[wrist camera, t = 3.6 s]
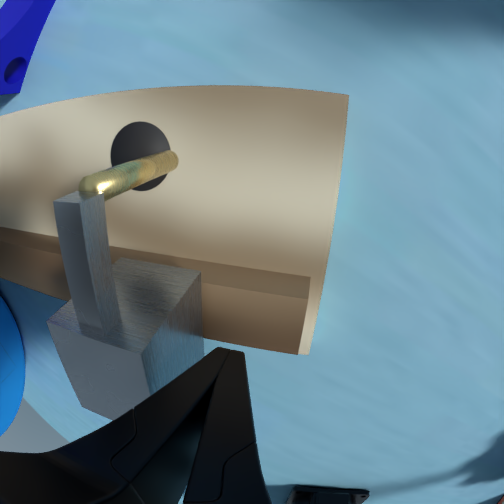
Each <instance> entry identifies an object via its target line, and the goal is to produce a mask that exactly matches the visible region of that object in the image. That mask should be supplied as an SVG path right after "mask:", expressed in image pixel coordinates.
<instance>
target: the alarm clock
mask: <svg viewBox="0 0 504 504" xmlns="http://www.w3.org/2000/svg"><path fill="white" fill-rule="evenodd" d="M24 385H25V357H24V350H23V344H22V340H21V336H20V333H19V330H18V327H17V325H16V322H15V320H14V318H13V315H12V313H11V312H10V310H9V308H8V306H7V305H6V303H5V301H4V300H3V299H2V297H1V296H0V436H1V435H2V434H3V433H4V432H5V431H6V430H7V429H8V427H9V426H10V424H11V423H12V421H13V420H14V418H15V416H16V414H17V412H18V409H19V406H20V403H21V400H22V396H23V391H24Z"/></svg>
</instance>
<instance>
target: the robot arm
mask: <svg viewBox="0 0 504 504" xmlns="http://www.w3.org/2000/svg"><path fill="white" fill-rule="evenodd" d="M187 483H188V484H187ZM186 485H187V488H186ZM185 488H186V492H185V496H184V500H183V504H272V503H271V500H270V497H269V494H268V491H267V488H266V485H265V481H264V478H263V474H262V471H261V465H260V460H259V455H258V448H257V444H256V435H255V428H254V421H253V414H252V407H251V399H250V392H249V384H248V377H247V369H246V362H245V354H244V352H241V351H236V350H230V349H226V348H222V347H217V348H215V349H214V350H213V351H211V352H210V353H209V354H207V355H206V356H205V357H203V358H202V359H201V360H199V361H198V362H197V363H195V364H194V365H192V366H191V367H190V368H188V369H187V370H186V371H184V372H183V373H182V374H180V375H179V376H177V377H176V378H175V379H173V380H172V381H170V382H169V383H168V384H166V385H165V386H163V387H162V388H161V389H159V390H158V391H156V392H155V393H154V394H152V395H151V396H149V397H148V398H146V399H145V400H144V401H142V402H141V403H139V404H138V405H136V406H135V407H134V409H130V410H129V411H127V412H126V413H124V414H123V415H121V416H120V417H118V418H117V419H115V420H113V421H112V422H110V423H109V424H107V425H105V426H103V427H101V428H99V429H98V430H96V431H94V432H92V433H90V434H88V435H86V436H84V437H82V438H79V439H77V440H75V441H73V442H71V443H69V444H67V445H65V446H62V447H60V448H58V449H55V450H52V451H49V452H44V453H17V452H4V451H0V504H178V502H179V500H180V498H181V496H182V494H183V492H184V490H185ZM368 497H369V491H360V490H334V489H320V488H309V487H294V488H293V489H292V491H291V493H290V495H289V497H288V499H287V501H286V503H285V504H362V503H363V502H364V501H365V500H366V499H367V498H368Z"/></svg>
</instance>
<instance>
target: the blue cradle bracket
mask: <svg viewBox="0 0 504 504" xmlns="http://www.w3.org/2000/svg"><path fill="white" fill-rule="evenodd" d="M55 1H56V0H6V2H5V3H4V5H3V6H2V7H1V9H0V95H3V94H12V93H20V90H21V87H22V83H23V80H24V77H25V74H26V71H27V68H28V65H29V62H30V59H31V56H32V54H33V51H34V48H35V46H36V43H37V41H38V38H39V36H40V33H41V31H42V29H43V26H44V24H45V22H46V20H47V17H48V15H49V13H50V11H51V9H52V7H53V5H54V3H55Z"/></svg>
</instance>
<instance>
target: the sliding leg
mask: <svg viewBox="0 0 504 504" xmlns="http://www.w3.org/2000/svg"><path fill="white" fill-rule="evenodd" d="M178 163H179V160H178V156H177V155H176V153H175V152H173V151H170V150H167V151H163V152H160V153H156V154H153V155H149V156H146V157H142V158H139V159H136V160H133V161H129V162H126V163H123V164H120V165H117V166H114V167H111V168H108V169H105V170H102V171H99V172H96V173H93V174H90V175H88V176H85V177H83V178H82V179H81V181H80V183H79V187H78V191H75V192H73V193H71V194H68V195H66V196H64V197H61V198H59V199H57V200H54V201H53V205H54V213H55V219H56V226H57V232H58V238H59V244H60V249H61V254H62V259H63V264H64V269H65V273H66V278H67V282H68V286H69V290H70V294H71V298H72V299H71V300H69V301H68V302H67V303H66V304H65V305H64V306H63V307H61V308H60V309H59V310H58V311H57V312H56V313H55V314H54V315H52V316H51V317H50V318H49V319H48V320H47V321H46V322H47V325H48V328H49V331H50V333H51V336H52V339H53V342H54V344H55V347H56V349H57V352H58V354H59V357H60V359H61V362H62V364H63V367H64V369H65V371H66V373H67V376H68V378H69V380H70V382H71V385H72V387H73V389H74V391H75V393H76V395H77V397H78V399H79V401H80V403H81V405H82V407H84V408H86V409H88V410H90V411H92V412H95V413H97V414H99V415H101V416H104V417H106V418H108V419H111V420H115V419H117V418H118V417H120V416H121V415H123V414H124V413H126V412H127V411H129V410H130V409H134V407H135V406H136V405H138V404H139V403H141V402H142V401H144V400H145V399H146V398H148V397H149V396H151V395H152V394H154V393H155V392H156V391H158V390H159V389H161V388H162V387H163V386H165V385H166V384H168V383H169V382H170V381H172V380H173V379H175V378H176V377H177V376H179V375H180V374H182V373H183V372H184V371H186V370H187V369H188V368H190V367H191V366H192V365H194V364H195V363H197V362H198V361H199V360H201V359H202V358H203V356H204V344H203V320H202V287H201V271H198V270H192V269H186V268H180V267H174V266H168V265H162V264H157V263H151V262H145V261H140V260H134V259H128V258H123V257H121V258H120V259H118V260H117V261H116V262H115V263H114V264H112V262H111V256H110V248H109V240H108V232H107V223H106V214H105V203H104V202H105V201H107V200H109V199H111V198H113V197H115V196H117V195H120V194H122V193H124V192H126V191H128V190H130V189H132V188H135V187H137V186H139V185H141V184H143V183H146V182H148V181H150V180H152V179H155V178H157V177H159V176H162V175H164V174H166V173H169V172H171V171H173V170H175V169H176V168H177V166H178Z"/></svg>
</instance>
